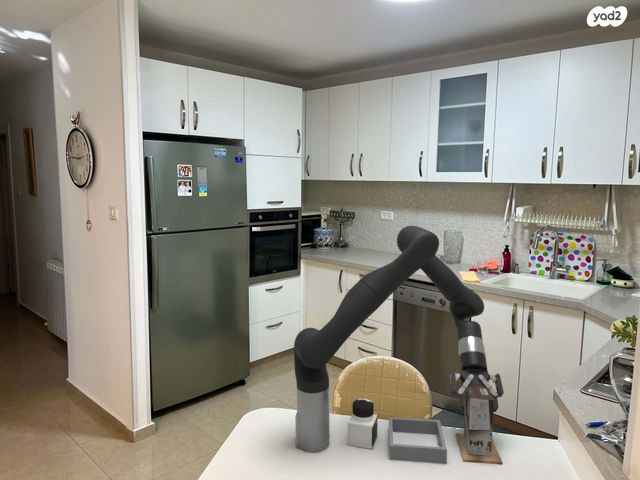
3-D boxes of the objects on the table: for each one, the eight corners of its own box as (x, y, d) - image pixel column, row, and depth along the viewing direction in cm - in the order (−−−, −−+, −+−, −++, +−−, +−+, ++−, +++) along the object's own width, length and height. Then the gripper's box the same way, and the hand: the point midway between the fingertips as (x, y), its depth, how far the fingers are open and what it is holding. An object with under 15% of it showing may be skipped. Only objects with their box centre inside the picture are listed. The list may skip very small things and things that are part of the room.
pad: (463, 461, 121) (463, 459, 121) (455, 434, 134) (455, 432, 134) (502, 464, 120) (502, 462, 119) (490, 437, 132) (490, 435, 132)
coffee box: (492, 456, 122) (494, 400, 120) (467, 454, 123) (469, 398, 121) (486, 438, 131) (488, 385, 129) (463, 436, 132) (465, 383, 130)
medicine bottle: (372, 450, 126) (372, 409, 125) (347, 445, 129) (347, 405, 127) (377, 436, 133) (377, 397, 132) (354, 432, 135) (354, 394, 134)
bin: (389, 459, 122) (389, 445, 122) (388, 429, 137) (388, 417, 136) (446, 463, 120) (447, 449, 120) (439, 432, 135) (440, 420, 134)
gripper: (449, 348, 133) (454, 404, 124) (499, 351, 131) (508, 407, 122) (446, 359, 139) (450, 413, 129) (494, 361, 137) (502, 416, 128)
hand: (478, 410), depth 126 cm, fingers open, 8 cm apart
